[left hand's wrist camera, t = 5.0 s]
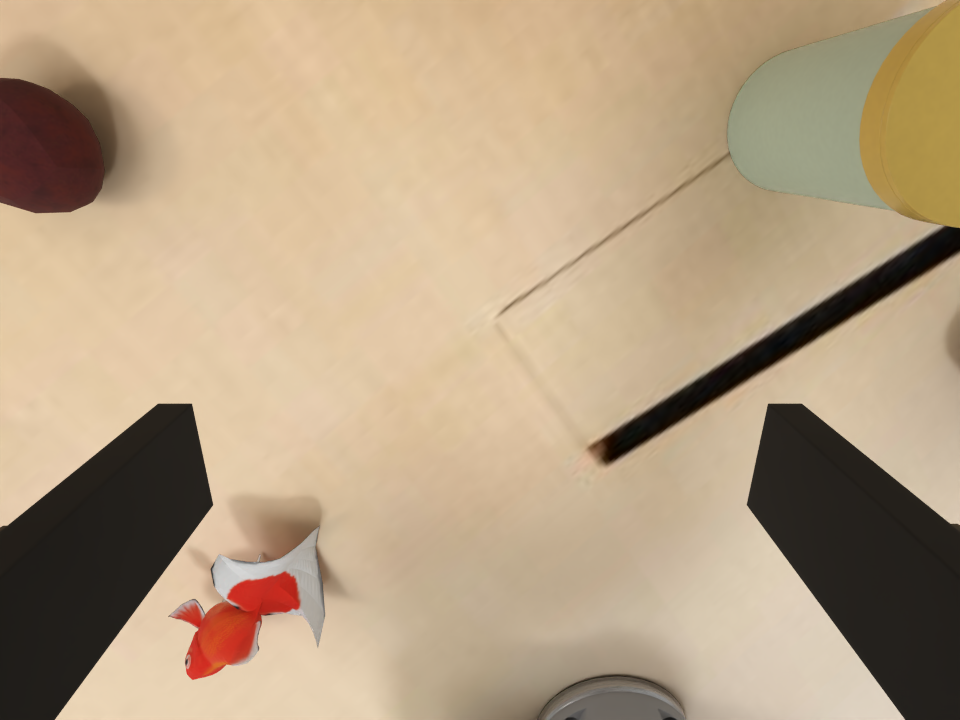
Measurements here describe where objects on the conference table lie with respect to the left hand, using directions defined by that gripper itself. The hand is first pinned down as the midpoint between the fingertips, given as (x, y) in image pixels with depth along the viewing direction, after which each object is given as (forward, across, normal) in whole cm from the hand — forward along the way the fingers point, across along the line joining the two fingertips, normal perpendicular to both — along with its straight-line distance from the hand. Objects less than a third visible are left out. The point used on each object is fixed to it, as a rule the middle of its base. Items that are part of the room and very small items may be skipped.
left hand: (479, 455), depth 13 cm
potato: (+28, +27, -6) cm, 39 cm away
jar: (+28, -20, -8) cm, 36 cm away
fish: (+28, +19, +28) cm, 44 cm away
